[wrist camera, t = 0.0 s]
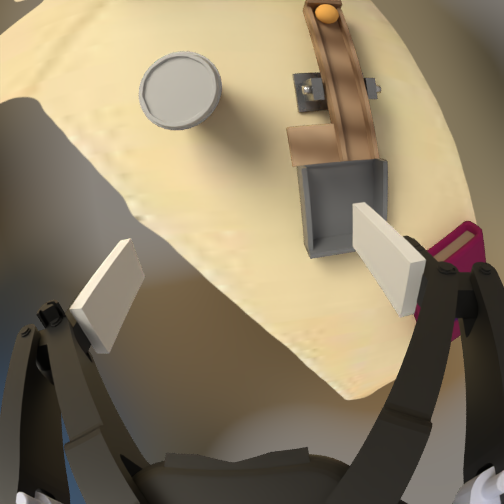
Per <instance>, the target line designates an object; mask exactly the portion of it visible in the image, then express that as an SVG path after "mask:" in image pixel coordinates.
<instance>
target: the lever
mask: <svg viewBox="0 0 504 504" xmlns="http://www.w3.org/2000/svg"><path fill="white" fill-rule="evenodd" d="M323 4H328V5H331V6H333V7H335V8H336V9H337V11H338V14H339V17H338V19H337V21H336V22H334V23H331V24H326V23H323V22H321V21H319V20H318V19H317V17H316V15H315V11H316V9H317V7H318V6H320V5H323ZM341 6H342V2H341V0H306V1H305V5H304V8H303V13H304V16H305V20H306V23H307V26H308V29H309V33H310V36H311V40H312V43H313V47H314V50H315V54H316V58H317V62H318V66H319V70H320V74H321V78H322V82H323V87H324V91H325V96H326V100H327V105H328V110H329V115H330V120H331V124H318V125H306V126H296V127H287V128H286V130H287V136H288V142H289V148H290V154H291V160H292V166H293V167H294V166H303V165H312V164H321V163H331V162H342V161H355V160H369V159H378V158H379V154H378V147H377V141H376V135H375V130H374V124H373V119H372V114H371V109H370V105H369V100H368V96H367V91H366V87H365V83H364V79H363V75H362V72H361V68H360V64H359V61H358V57H357V54H356V51H355V48H354V44H353V41H352V38H351V35H350V32H349V29H348V26H347V24H346V21H345V18H344V15H343V13H342V10H341Z"/></svg>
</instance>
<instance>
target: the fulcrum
mask: <svg viewBox="0 0 504 504" xmlns="http://www.w3.org/2000/svg"><path fill="white" fill-rule="evenodd" d="M292 75H293V81H294V87H295V93H296V100H297V107H298V112H304V111H317V110H328V105H327V100H326V96H325V91H324V87H323V82H322V78H321V74H320V73H298V74H292ZM362 75H363V73H362ZM363 79H364V83H365V87H366V91H367V96H368V99H377V93H381V87H380V86H379V85H376V83H375V78H363Z"/></svg>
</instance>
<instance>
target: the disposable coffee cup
mask: <svg viewBox="0 0 504 504" xmlns="http://www.w3.org/2000/svg"><path fill="white" fill-rule="evenodd" d="M221 92H222V82H221V77H220V74H219V72H218V70H217V68H216V67H215V65H214V64H213V63H212V62H211V61H210V60H209V59H207V58H206V57H204V56H203V55H200V54H198V53H194V52H190V51H180V52H174V53H170V54H168V55H165V56H163V57H161V58H160V59H158V60H157V61H155V62H154V63H153V64H152V65H151V66H150V67H149V68H148V70H147V71H146V72H145V74H144V76H143V78H142V80H141V83H140V87H139V101H140V105H141V108H142V110H143V112H144V114H145V115H146V117H147V118H148V119H149V120H150V121H151V122H152V123H154V124H155V125H157V126H159V127H162V128H164V129H169V130H184V129H189V128H192V127H194V126H196V125H198V124H200V123H202V122H203V121H205V120H206V119H207V118H208V117H209V116H210V115H211V114H212V113H213V111H214V110H215V108H216V106H217V105H218V103H219V100H220V97H221Z"/></svg>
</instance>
